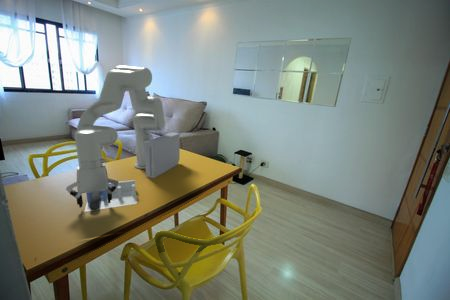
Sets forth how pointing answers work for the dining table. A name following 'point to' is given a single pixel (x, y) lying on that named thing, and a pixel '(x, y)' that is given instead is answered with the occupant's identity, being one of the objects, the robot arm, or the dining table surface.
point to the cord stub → (95, 200)
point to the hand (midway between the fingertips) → (95, 203)
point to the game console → (162, 154)
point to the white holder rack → (116, 196)
